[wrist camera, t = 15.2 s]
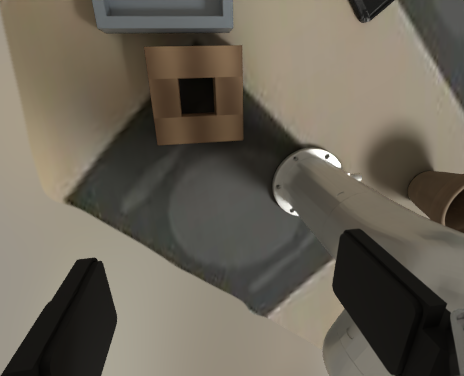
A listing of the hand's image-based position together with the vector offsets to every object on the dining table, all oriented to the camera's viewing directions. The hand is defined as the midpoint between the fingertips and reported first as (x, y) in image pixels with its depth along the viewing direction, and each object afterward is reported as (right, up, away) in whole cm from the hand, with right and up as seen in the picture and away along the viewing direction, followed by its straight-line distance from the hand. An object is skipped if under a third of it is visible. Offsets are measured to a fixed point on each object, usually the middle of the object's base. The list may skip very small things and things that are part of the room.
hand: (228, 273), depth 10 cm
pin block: (-5, +17, +28) cm, 33 cm away
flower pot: (+37, +4, +40) cm, 55 cm away
